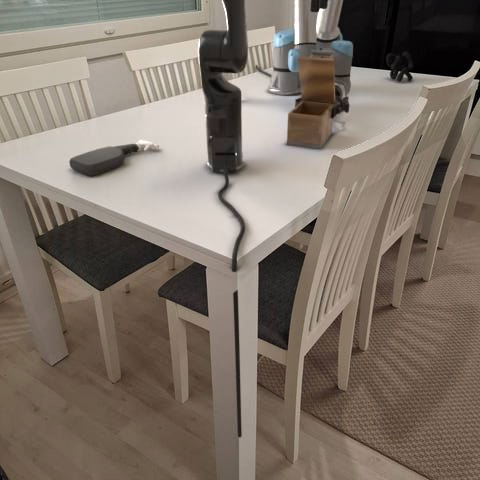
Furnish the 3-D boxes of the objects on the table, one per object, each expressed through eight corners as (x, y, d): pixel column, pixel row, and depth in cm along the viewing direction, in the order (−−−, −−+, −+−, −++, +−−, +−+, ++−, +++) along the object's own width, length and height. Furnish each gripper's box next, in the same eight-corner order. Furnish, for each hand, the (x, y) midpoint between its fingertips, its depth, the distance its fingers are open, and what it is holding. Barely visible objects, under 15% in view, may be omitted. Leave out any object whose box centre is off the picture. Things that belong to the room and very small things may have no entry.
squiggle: (400, 92, 202) (376, 71, 205) (417, 76, 202) (392, 56, 205) (405, 81, 191) (380, 59, 194) (423, 64, 191) (397, 42, 194)
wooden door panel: (333, 61, 123) (340, 41, 127) (297, 59, 126) (305, 40, 130) (334, 103, 135) (341, 84, 139) (301, 100, 139) (309, 82, 142)
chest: (320, 148, 129) (322, 116, 124) (286, 144, 133) (287, 113, 128) (331, 133, 141) (334, 103, 136) (300, 130, 144) (302, 100, 139)
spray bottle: (67, 168, 120) (139, 144, 136) (91, 178, 114) (163, 151, 130) (65, 157, 118) (137, 134, 134) (89, 167, 112) (162, 142, 128)
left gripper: (316, -62, 117) (312, 7, 125) (301, -64, 106) (297, 12, 114) (345, -63, 114) (339, 8, 123) (332, -65, 103) (326, 13, 112)
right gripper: (364, 108, 151) (350, 128, 134) (299, 102, 159) (279, 120, 142) (367, 86, 147) (353, 103, 130) (300, 81, 155) (280, 96, 138)
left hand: (319, 10), depth 118 cm, fingers open, 8 cm apart
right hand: (315, 112), depth 136 cm, fingers closed on chest, 10 cm apart
